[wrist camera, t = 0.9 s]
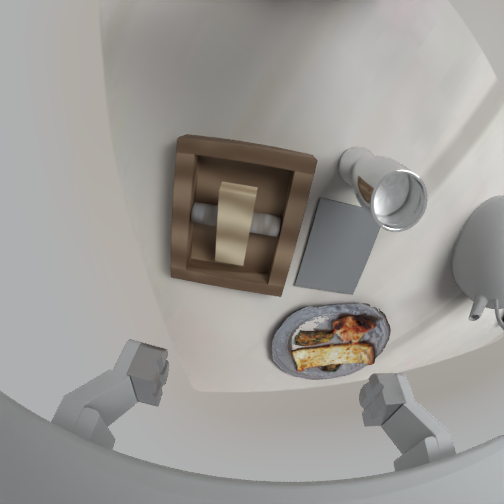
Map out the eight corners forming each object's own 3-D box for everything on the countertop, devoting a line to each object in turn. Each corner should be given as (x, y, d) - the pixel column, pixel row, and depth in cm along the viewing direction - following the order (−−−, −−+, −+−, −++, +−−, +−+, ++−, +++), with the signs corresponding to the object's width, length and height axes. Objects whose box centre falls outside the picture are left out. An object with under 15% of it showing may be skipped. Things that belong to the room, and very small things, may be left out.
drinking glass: (326, 172, 38) (355, 211, 25) (352, 134, 35) (396, 153, 22) (362, 197, 39) (401, 245, 26) (388, 161, 36) (440, 194, 23)
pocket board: (186, 134, 36) (177, 137, 33) (312, 155, 37) (317, 160, 33) (177, 264, 47) (170, 277, 44) (280, 282, 48) (281, 296, 44)
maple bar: (222, 181, 34) (219, 190, 32) (257, 187, 34) (256, 196, 33) (217, 251, 44) (215, 261, 43) (244, 256, 45) (243, 266, 43)
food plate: (397, 293, 48) (403, 305, 45) (375, 365, 59) (378, 377, 56) (268, 300, 51) (267, 313, 48) (274, 372, 63) (274, 384, 60)
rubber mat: (319, 197, 40) (320, 198, 40) (384, 213, 40) (385, 214, 40) (294, 284, 48) (294, 285, 48) (352, 293, 48) (352, 294, 48)
